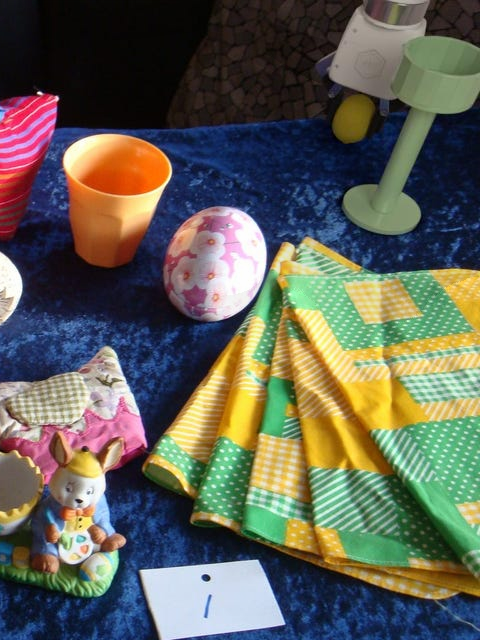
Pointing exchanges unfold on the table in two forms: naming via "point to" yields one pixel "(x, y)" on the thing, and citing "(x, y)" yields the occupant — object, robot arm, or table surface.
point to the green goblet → (416, 126)
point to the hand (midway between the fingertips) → (351, 126)
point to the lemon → (353, 118)
